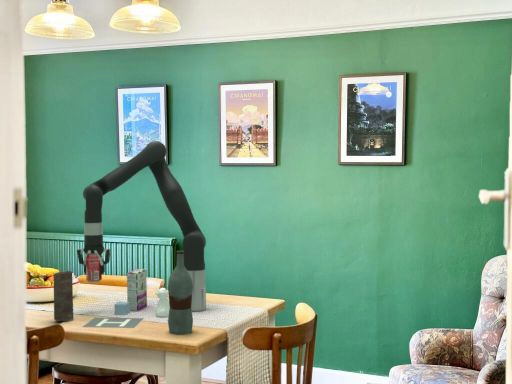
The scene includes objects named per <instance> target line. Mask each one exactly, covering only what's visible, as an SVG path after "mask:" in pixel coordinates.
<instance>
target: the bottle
mask: <svg viewBox="0 0 512 384" xmlns="http://www.w3.org/2000/svg"><path fill="white" fill-rule="evenodd" d="M167 291H168V300H169V316H168V317H167V324H168V326H167V327H168V331H169V333H170V334H172V335H186V334H191V333H192V331H193V326H194V325H193V324H194V319H193V311H192V309H191V304H192V291H193V284H192V278H191V276H190V274H189V273H188V271H187V269H186V268H185V266H184V251H182V250H177V251H176V266H175V268H174V269H173V271H172V272H171V274H170V275H169V278H168V283H167Z"/></svg>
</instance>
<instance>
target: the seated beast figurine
mask: <svg viewBox="0 0 512 384" xmlns="http://www.w3.org/2000/svg"><path fill="white" fill-rule="evenodd" d="M157 290H158V291H157ZM157 290H156V291H155V290H154V294H155V295H156V297H157V298H159V299H158V302H157V307H156V309H155V315H156V317H157V318H168V316H169V309H170V306H169V294H168V289H166V287H160V288H159V289H157Z"/></svg>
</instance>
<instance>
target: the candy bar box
mask: <svg viewBox="0 0 512 384" xmlns="http://www.w3.org/2000/svg"><path fill="white" fill-rule="evenodd" d="M126 284H127V285H126V290H127V293H126V294H127V297H126V298H127V301H126V302H130V312H139V311H141V310H142V309H144V308H145V307H147V306H148V299H147V298H148V296H147V288H148V287H147V269H146V268H136V269H134V270H131V271H129V272H126Z"/></svg>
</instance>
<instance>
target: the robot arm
mask: <svg viewBox="0 0 512 384" xmlns="http://www.w3.org/2000/svg"><path fill="white" fill-rule="evenodd" d="M166 155H167V148H166V145H165V144H164V143H163V142H162V141H158V140H153V141H150V142H148V143H147V144H146V145H145V147H144V148H143V149H142V150H140V152H139V153H137V154H136V155H134V156H133V157H132V158H131V159H129V160H128V161H126V162H124V163H123V164H121V165H119V166H118V167H116V168H115V169H113V170H111V171H109V172H108V173H107V174H105V175H104V176H103V177H101V178H99V179H98V180H96V181H94V182H92V183H90V184H89V185H87V186H86V187H85V188H84V189H83V191H82V196H83V197H82V198H83V199H84V200H85V210H84V228H83V235H84V237H83V238H84V241H83V242H84V243H83V244H84V247H83V248H80V249H76V253H77V259H78V263H79V265H82V266H83V274H84V275H86V256H87V254H88V253H97V255H98V256H99V261H100V264H101V266H100V274H102V275H104V273H105V272H106V265H107V264H109V263H110V261H111V260H110V258H111V255H112V254H111V251H112V250H111V248H105V247H104V227H103V214H102V213H103V212H102V211H103V203H104V200H103V196H105V195H106V194H107V193H109V192H112V191H115V190H116V189H117V188H119V187H120V186H122V185H124V184H125V183H126V182H128V181H129V180H131V179H132V178H133V177H134V176H136V175H137V174H138V173H140V171H142V170H144V169H145V168H146V167H148V168H149V170H150V172H151V173H152V175H153V177H154V179H155V181H156V184H157V187H158V190H159V193H160V195H161V197H162V199H163V202H164V203H165V206H166V208H167V211H168V212H169V214H171V216H172V217H173V219H174V220H175V221H176V223H177V224H178V226H179V228H180V231H181V233H182V236H183V239H182V245H181V246H182V247H181V249H182V250H181V251H184V266H185V268H186V269H187V271H188V273H189V274H190V276H191V278H192V284H193V291H192V304H191V309H192V312H199V311H206V308H207V286H206V263H205V247H206V244H207V240H206V237H205V235H204V234H203V231H202V230H201V228H200V226H199V225H198V223H197V222H196V219H195V216H194V213H193V212H192V209H191V206H190V204H189V201H188V199H187V196H186V194H185V192H184V190H183V187H182V186H181V184H180V183H179V181H178V180H177V178H175V176H174V175H173V173H172V172H171V170H170V168H169V165H168V163H167V161H166ZM103 253H104V255H105V259H104V257H103ZM83 254H85V258H84V255H83ZM100 255H101V257H100Z"/></svg>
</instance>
